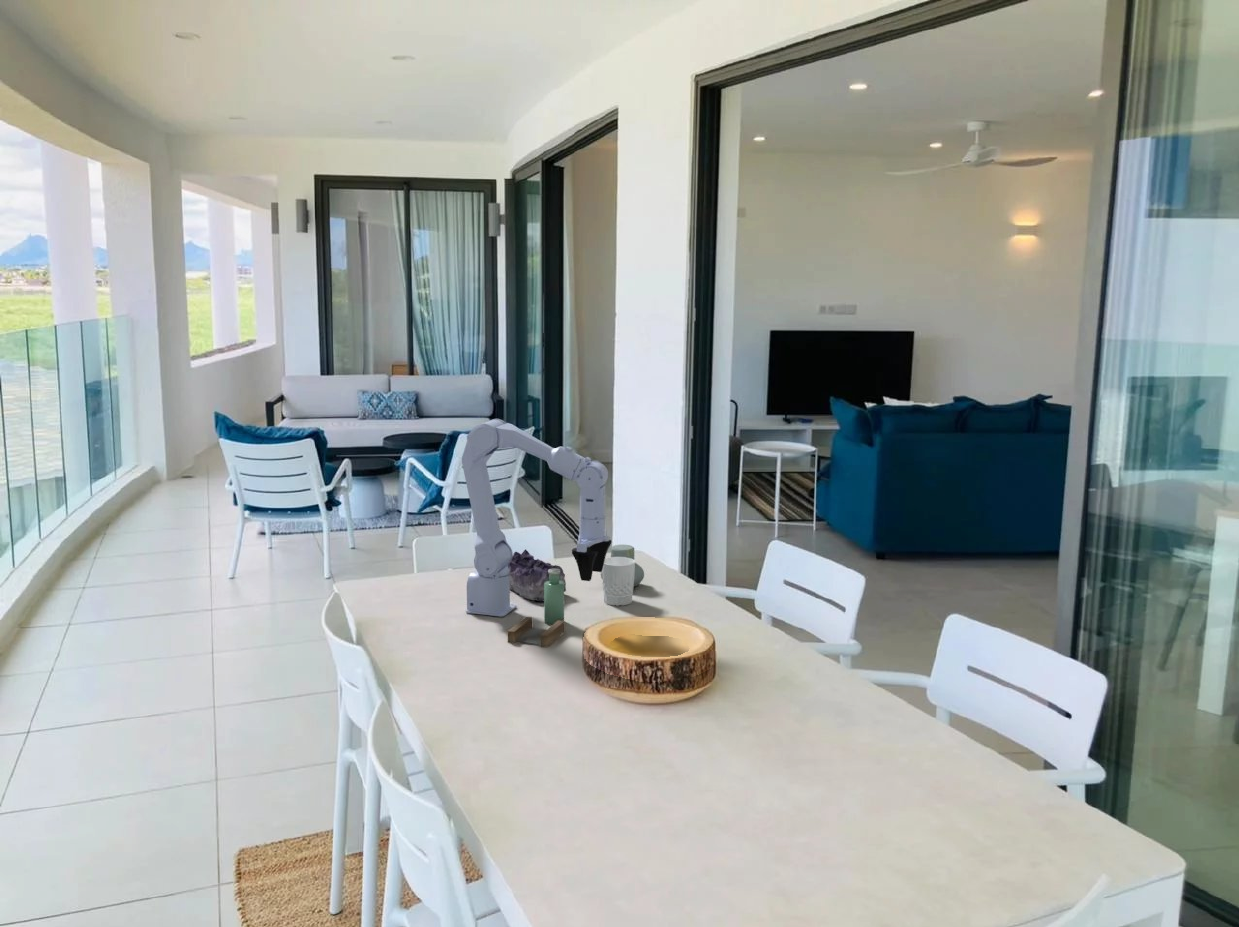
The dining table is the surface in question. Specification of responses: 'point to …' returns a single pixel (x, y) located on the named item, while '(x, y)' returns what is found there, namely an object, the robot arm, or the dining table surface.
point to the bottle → (553, 598)
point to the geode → (530, 575)
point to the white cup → (618, 580)
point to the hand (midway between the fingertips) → (591, 575)
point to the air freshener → (628, 553)
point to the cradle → (535, 633)
